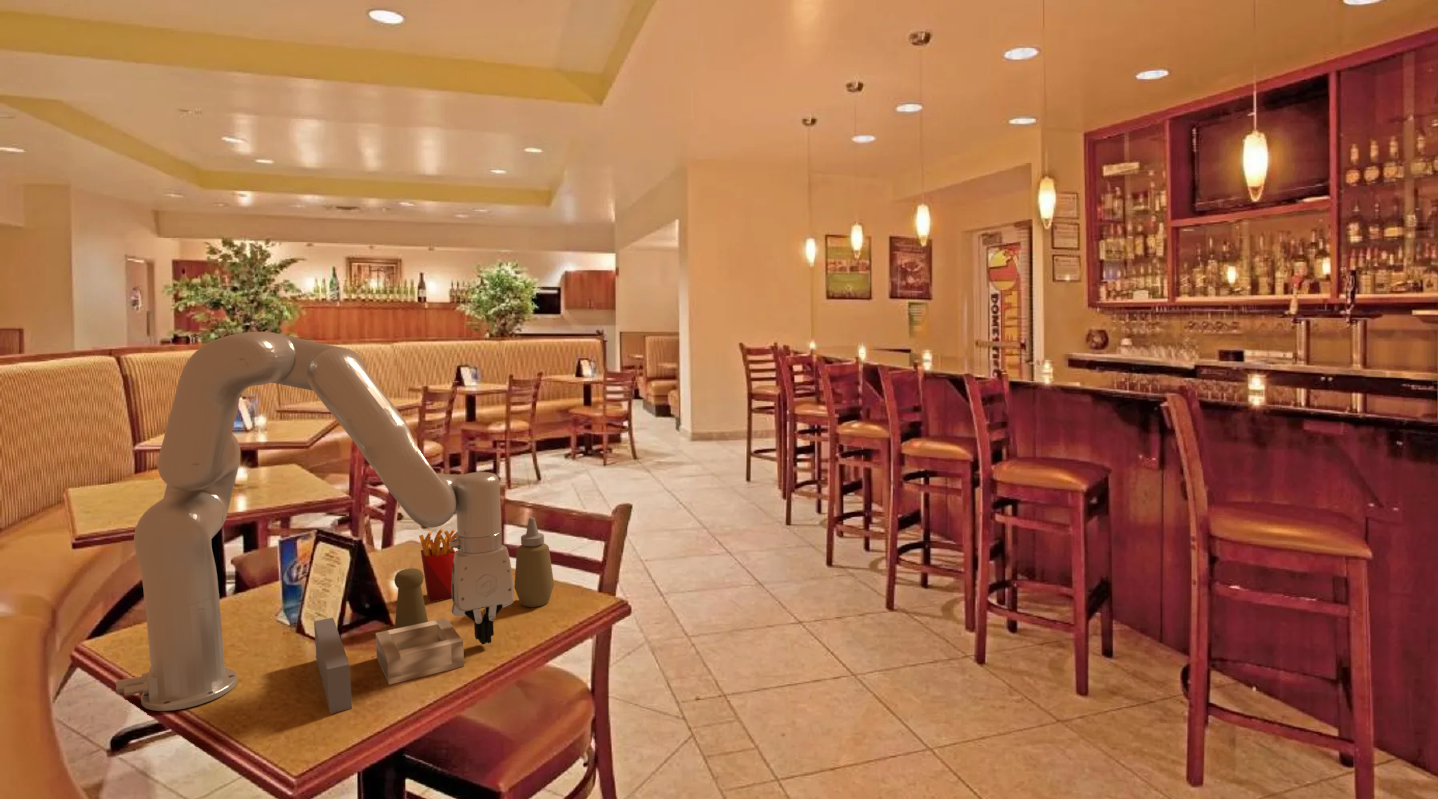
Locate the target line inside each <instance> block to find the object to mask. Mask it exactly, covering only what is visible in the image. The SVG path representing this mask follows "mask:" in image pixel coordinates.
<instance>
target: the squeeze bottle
mask: <svg viewBox="0 0 1438 799" xmlns="http://www.w3.org/2000/svg"><path fill="white" fill-rule="evenodd" d="M520 543H521V545H519V546H518V547H517V548H516V554H515V555H516V557H515V572H514V584H513V587H514V591H515V593H516V595H517V598H518V600H519V604H520V605H521V606H523V607H527V608H532V607H533V608H534V607H541V606H544V605H546V604H548V603H549V601H551V600H550V599H551V597H552V593H553V589H554V586H555V582H554V575H553V574H554V573H553V568H552V566H553V565H552V560H551V554H550V546H549V545H548V544H546V543H545V535H544V533H541V532H539V530H538V525H537V522H536V518H535V517H530V518H528V521H527V527H526V533H525V534H522V535H521V536H520Z"/></svg>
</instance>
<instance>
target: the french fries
mask: <svg viewBox="0 0 1438 799" xmlns="http://www.w3.org/2000/svg"><path fill="white" fill-rule="evenodd" d="M443 531H444V529H442V528H440V529H439V530H438V532H437V533H436V535H435V537H434V539H431V538H432V537H431V535H432V534H433V532H431V531H429V532H428V533H427V534H426V536H425V537H424V534H420V535H418V537H419V540H420V543H421V548H422V549H420V554H421V561H422V568H423V577H424V581H425V582H424V583H425V588H426V595H427V597H428V599H429V602H431V603H432V602H437V600H438V601H442V600H449V599H452V592H451V586H452V568H453V560H454V554H455V551H456V550H455V548H450V545H449V541H451V540H454V539H456V537H457V535H456V534H458V533H457V531H456V530H455V529H452V530H451V532H450V533H449V531H448V530H445V531H444V532H443ZM442 533H443V534H444V535H445V537H444V536H443V535H442ZM441 544H442V546H441Z"/></svg>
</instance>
